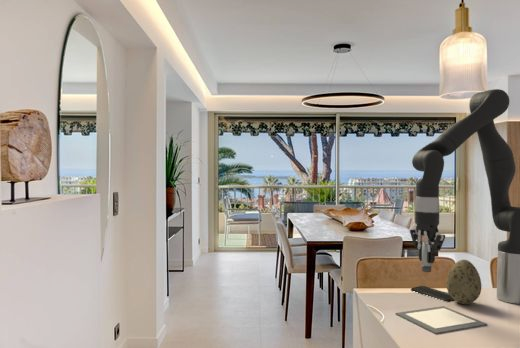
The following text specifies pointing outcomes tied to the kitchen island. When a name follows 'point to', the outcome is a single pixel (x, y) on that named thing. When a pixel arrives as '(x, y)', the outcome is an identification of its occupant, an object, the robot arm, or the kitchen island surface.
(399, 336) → the kitchen island surface
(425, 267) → the marker
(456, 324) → the writing mat
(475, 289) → the decorative egg
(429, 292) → the phone
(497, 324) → the kitchen island surface
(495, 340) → the kitchen island surface
